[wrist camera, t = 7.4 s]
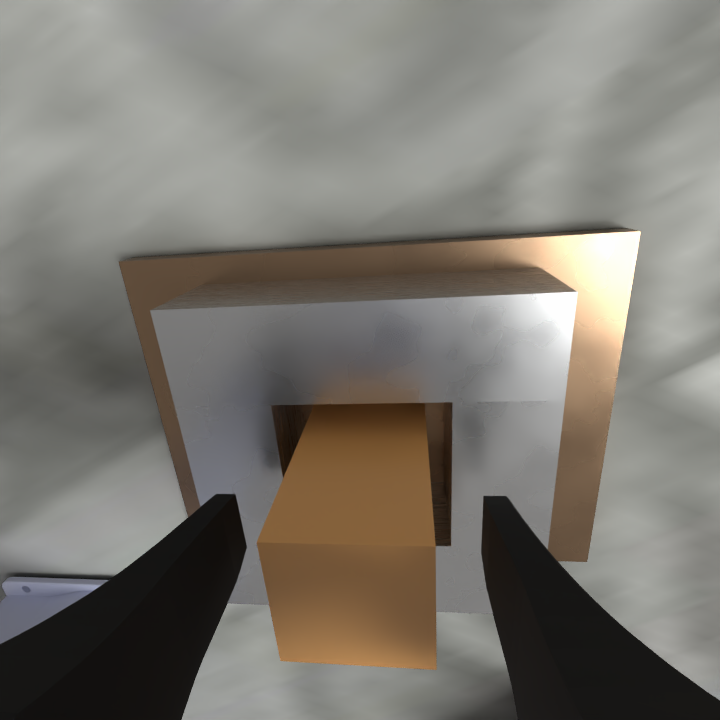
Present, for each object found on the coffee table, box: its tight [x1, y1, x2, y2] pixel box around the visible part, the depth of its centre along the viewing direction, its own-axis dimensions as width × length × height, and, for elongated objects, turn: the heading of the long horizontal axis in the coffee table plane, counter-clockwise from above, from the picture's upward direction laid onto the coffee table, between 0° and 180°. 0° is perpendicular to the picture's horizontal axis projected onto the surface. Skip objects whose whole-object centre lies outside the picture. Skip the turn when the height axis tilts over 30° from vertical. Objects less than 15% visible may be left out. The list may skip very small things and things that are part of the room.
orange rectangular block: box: [257, 403, 436, 670], centre depth 14 cm, size 4×4×8 cm
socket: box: [119, 228, 641, 614], centre depth 17 cm, size 18×14×4 cm
